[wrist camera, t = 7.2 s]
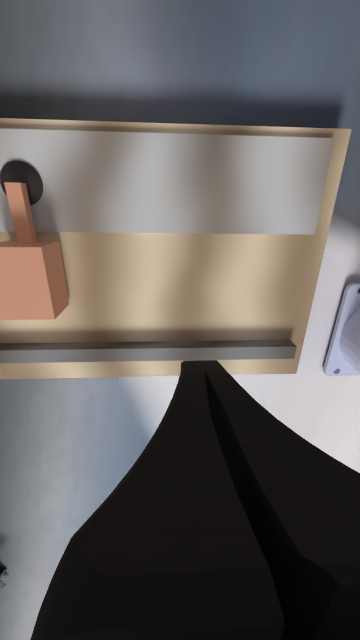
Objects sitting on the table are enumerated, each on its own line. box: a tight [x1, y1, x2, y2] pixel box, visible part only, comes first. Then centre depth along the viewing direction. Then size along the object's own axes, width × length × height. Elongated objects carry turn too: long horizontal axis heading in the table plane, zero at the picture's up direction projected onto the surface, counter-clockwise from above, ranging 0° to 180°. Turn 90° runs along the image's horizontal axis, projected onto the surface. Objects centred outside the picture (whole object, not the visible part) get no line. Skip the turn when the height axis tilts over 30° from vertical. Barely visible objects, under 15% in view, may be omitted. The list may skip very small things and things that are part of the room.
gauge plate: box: [0, 118, 351, 379], centre depth 17 cm, size 28×16×4 cm, turn 89°
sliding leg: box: [0, 182, 69, 320], centre depth 15 cm, size 3×7×2 cm, turn 179°
